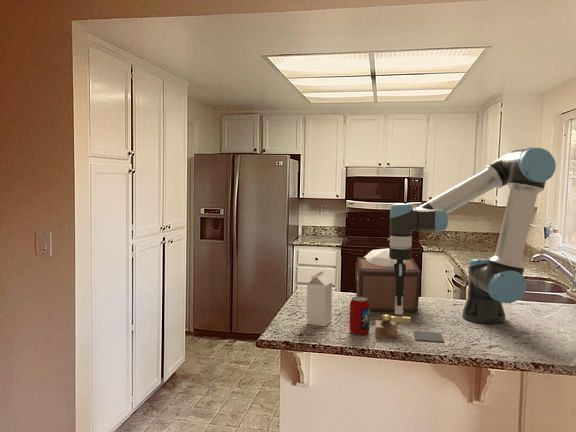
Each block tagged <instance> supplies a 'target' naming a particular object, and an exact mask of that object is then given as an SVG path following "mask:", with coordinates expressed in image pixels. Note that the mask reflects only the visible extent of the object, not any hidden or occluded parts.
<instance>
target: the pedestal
mask: <svg viewBox="0 0 576 432" xmlns="http://www.w3.org/2000/svg"><path fill="white" fill-rule="evenodd" d="M374 335H375V338H378V339H379V338H380V339H391V338H392V339H393V340H397V339H398V325H397V322H391V320H390V323H384V322H382V320H377V319H376V320H375V334H374Z"/></svg>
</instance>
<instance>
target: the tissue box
mask: <svg viewBox="0 0 576 432" xmlns="http://www.w3.org/2000/svg"><path fill="white" fill-rule="evenodd" d="M389 249H390V248H379V249H378V248H377V249H372V250H370V251H369V252H368V253H367V254H366V255H365V256H363V257H359V256H358V257H357V259H356V283H355V284H356V285H355V294H356V295H355V297H366V298H368V301H369V303H370V312H395V296H394V294H395V285H396V277H395V269H394V263H396V260H394V259H390V258H389ZM404 264H406V270H405V277H404V289H403V293H405V295H403V313H405V312H406V313H407V312H408V313H409V312H410V313H418V311H419V299H420V287H421V276H422V275H421V271H420V268H419V267H418V265H417V263H416V262H415V259H414V258H412V257H411V259H409V260H404Z"/></svg>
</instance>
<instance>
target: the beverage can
mask: <svg viewBox="0 0 576 432" xmlns="http://www.w3.org/2000/svg"><path fill="white" fill-rule="evenodd" d="M370 313H371V311H370V303H369V301H368V298H366V297H357V296H353V297H352V298H351V300H350V302H349V331H350V332H351V333H352V334H354V335H357V336H360V335H361V336H364V335H366V334H368V333H369V332H370V315H371V314H370Z"/></svg>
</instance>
